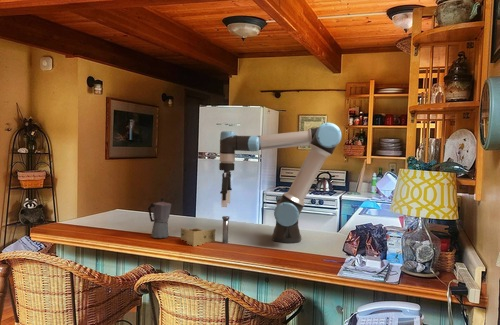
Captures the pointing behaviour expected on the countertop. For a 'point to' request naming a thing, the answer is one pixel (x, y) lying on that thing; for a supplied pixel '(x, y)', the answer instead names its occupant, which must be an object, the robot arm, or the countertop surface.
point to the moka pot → (160, 218)
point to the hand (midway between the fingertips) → (225, 205)
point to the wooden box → (197, 236)
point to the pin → (225, 229)
